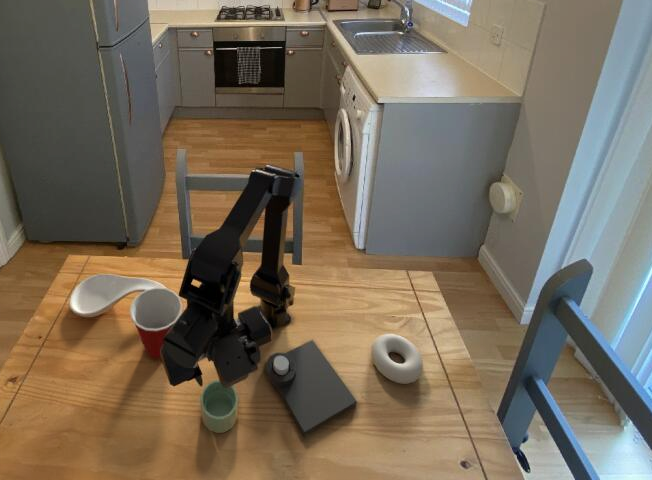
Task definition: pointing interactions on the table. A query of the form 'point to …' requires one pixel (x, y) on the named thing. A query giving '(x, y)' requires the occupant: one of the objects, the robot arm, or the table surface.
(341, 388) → the scale
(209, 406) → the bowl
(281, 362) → the button
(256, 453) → the table surface
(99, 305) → the spoon rest
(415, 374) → the donut
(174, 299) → the plastic cup
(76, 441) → the table surface
